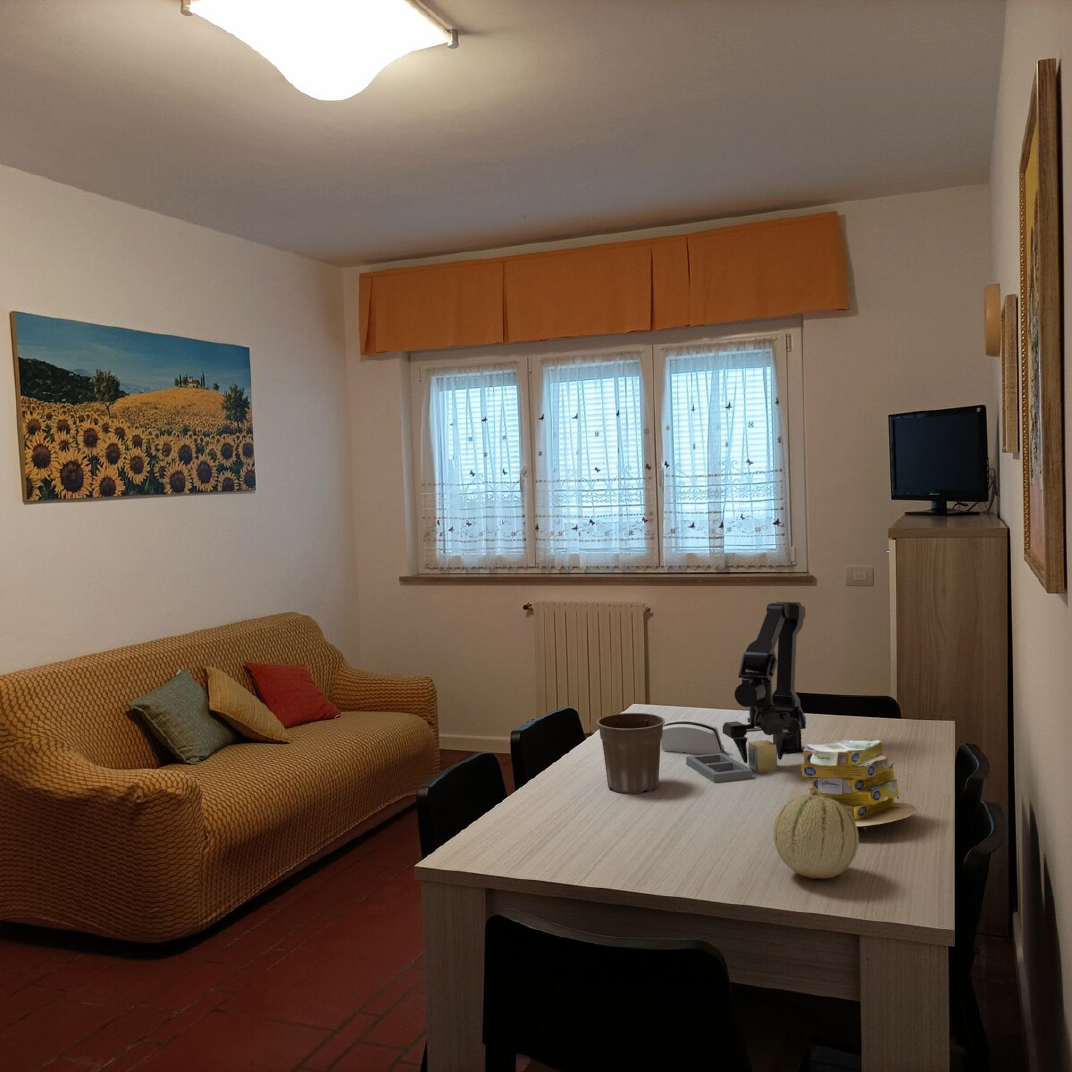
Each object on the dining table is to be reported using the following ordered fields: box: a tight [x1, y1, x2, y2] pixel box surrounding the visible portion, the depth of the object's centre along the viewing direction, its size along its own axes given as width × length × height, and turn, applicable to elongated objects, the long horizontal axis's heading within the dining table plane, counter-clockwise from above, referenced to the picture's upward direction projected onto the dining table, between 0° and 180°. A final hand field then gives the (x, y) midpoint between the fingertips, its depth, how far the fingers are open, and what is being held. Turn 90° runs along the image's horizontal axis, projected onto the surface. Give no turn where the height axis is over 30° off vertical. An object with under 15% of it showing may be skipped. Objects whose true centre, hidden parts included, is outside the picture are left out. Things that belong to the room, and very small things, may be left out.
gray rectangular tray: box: [685, 752, 754, 784], centre depth 255 cm, size 10×18×2 cm, turn 13°
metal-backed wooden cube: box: [747, 739, 778, 773], centre depth 255 cm, size 6×5×6 cm
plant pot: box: [596, 712, 666, 794], centre depth 244 cm, size 16×16×16 cm
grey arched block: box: [660, 719, 725, 755], centre depth 275 cm, size 17×5×10 cm, turn 62°
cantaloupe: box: [773, 789, 860, 880], centre depth 184 cm, size 15×15×15 cm
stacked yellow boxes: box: [800, 738, 917, 831], centre depth 213 cm, size 25×25×17 cm
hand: (762, 761), depth 256 cm, fingers open, 9 cm apart
